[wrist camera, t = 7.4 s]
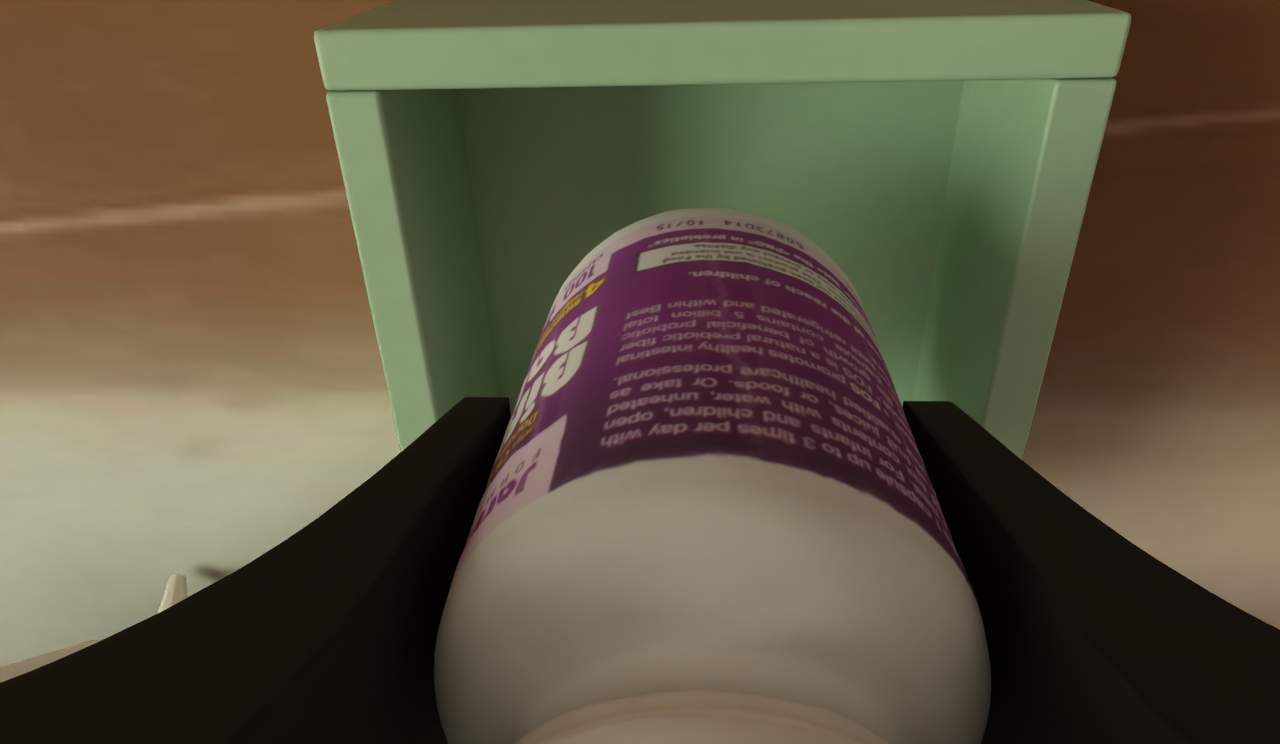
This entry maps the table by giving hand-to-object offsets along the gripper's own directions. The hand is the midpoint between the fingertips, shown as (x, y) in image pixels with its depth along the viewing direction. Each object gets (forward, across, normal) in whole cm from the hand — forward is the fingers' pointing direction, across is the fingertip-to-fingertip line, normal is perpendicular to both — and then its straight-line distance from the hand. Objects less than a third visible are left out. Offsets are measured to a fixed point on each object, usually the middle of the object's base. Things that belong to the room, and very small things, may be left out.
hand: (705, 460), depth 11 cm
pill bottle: (+3, 0, 0) cm, 3 cm away
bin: (+7, 0, 0) cm, 7 cm away
